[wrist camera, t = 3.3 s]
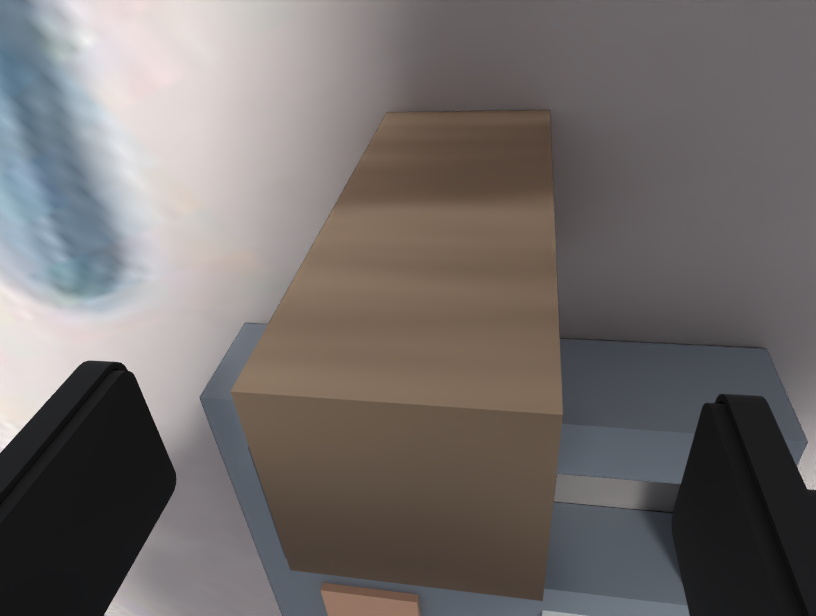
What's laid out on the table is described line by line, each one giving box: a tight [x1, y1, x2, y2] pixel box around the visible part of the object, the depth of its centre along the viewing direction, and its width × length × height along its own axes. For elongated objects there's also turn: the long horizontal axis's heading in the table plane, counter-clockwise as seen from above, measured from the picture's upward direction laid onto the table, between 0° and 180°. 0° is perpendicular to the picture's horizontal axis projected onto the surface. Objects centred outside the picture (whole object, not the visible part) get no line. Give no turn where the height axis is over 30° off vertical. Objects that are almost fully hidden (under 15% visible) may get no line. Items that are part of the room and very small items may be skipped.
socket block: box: [199, 323, 808, 616], centre depth 22 cm, size 14×16×4 cm
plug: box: [230, 110, 563, 601], centre depth 12 cm, size 4×4×10 cm
